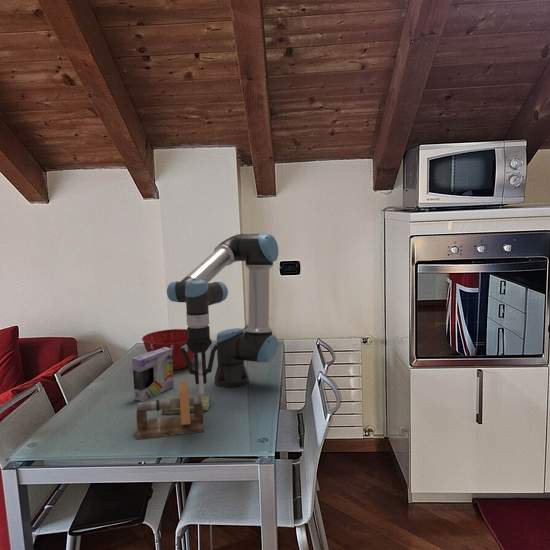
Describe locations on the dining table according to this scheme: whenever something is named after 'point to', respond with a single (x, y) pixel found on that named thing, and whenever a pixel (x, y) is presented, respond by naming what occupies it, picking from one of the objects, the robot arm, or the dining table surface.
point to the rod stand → (168, 418)
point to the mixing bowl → (169, 344)
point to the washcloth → (177, 410)
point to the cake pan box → (152, 373)
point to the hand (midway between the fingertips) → (201, 392)
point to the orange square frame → (184, 403)
